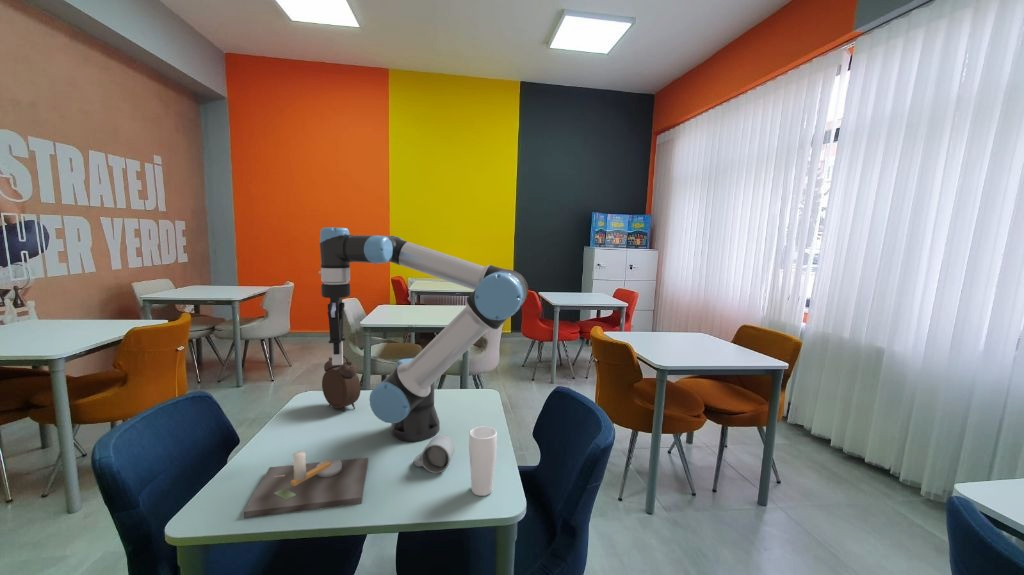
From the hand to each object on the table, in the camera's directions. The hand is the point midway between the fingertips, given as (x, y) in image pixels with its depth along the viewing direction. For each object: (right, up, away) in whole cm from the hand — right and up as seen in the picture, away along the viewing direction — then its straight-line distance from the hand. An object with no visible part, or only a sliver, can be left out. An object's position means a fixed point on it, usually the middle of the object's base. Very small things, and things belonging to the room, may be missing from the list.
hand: (337, 364), depth 119 cm
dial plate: (+2, -27, -18) cm, 32 cm away
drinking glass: (+43, -28, -18) cm, 54 cm away
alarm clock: (-11, -21, +29) cm, 37 cm away
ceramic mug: (+29, -26, -7) cm, 40 cm away
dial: (+2, -25, -17) cm, 30 cm away
